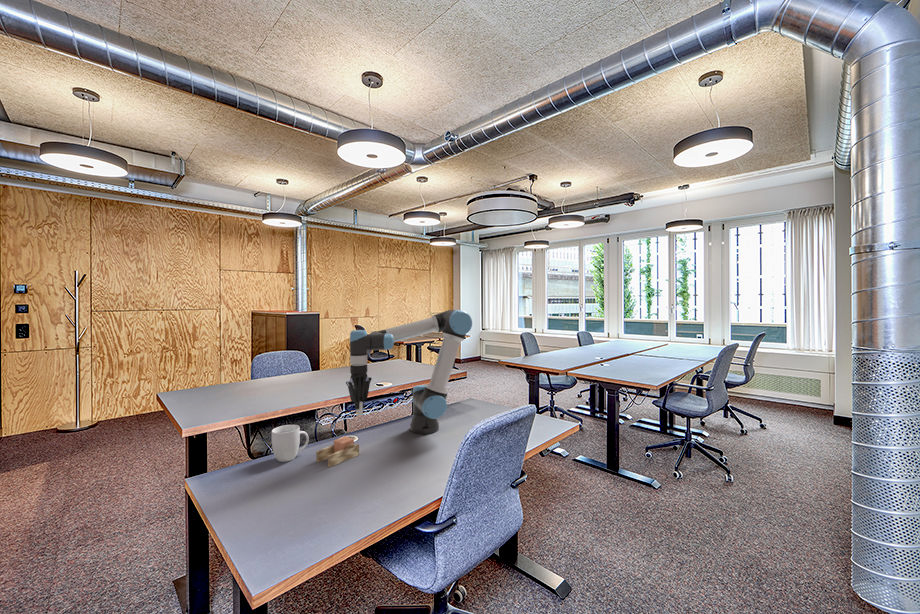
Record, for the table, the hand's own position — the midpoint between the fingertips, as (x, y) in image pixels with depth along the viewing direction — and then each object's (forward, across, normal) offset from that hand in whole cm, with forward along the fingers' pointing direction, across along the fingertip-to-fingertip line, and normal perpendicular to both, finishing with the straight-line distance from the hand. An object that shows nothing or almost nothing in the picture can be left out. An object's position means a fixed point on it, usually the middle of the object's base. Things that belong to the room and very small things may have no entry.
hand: (359, 415), depth 170 cm
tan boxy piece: (+15, +12, 0) cm, 19 cm away
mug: (+16, +24, -18) cm, 34 cm away
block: (+15, +9, 0) cm, 18 cm away
